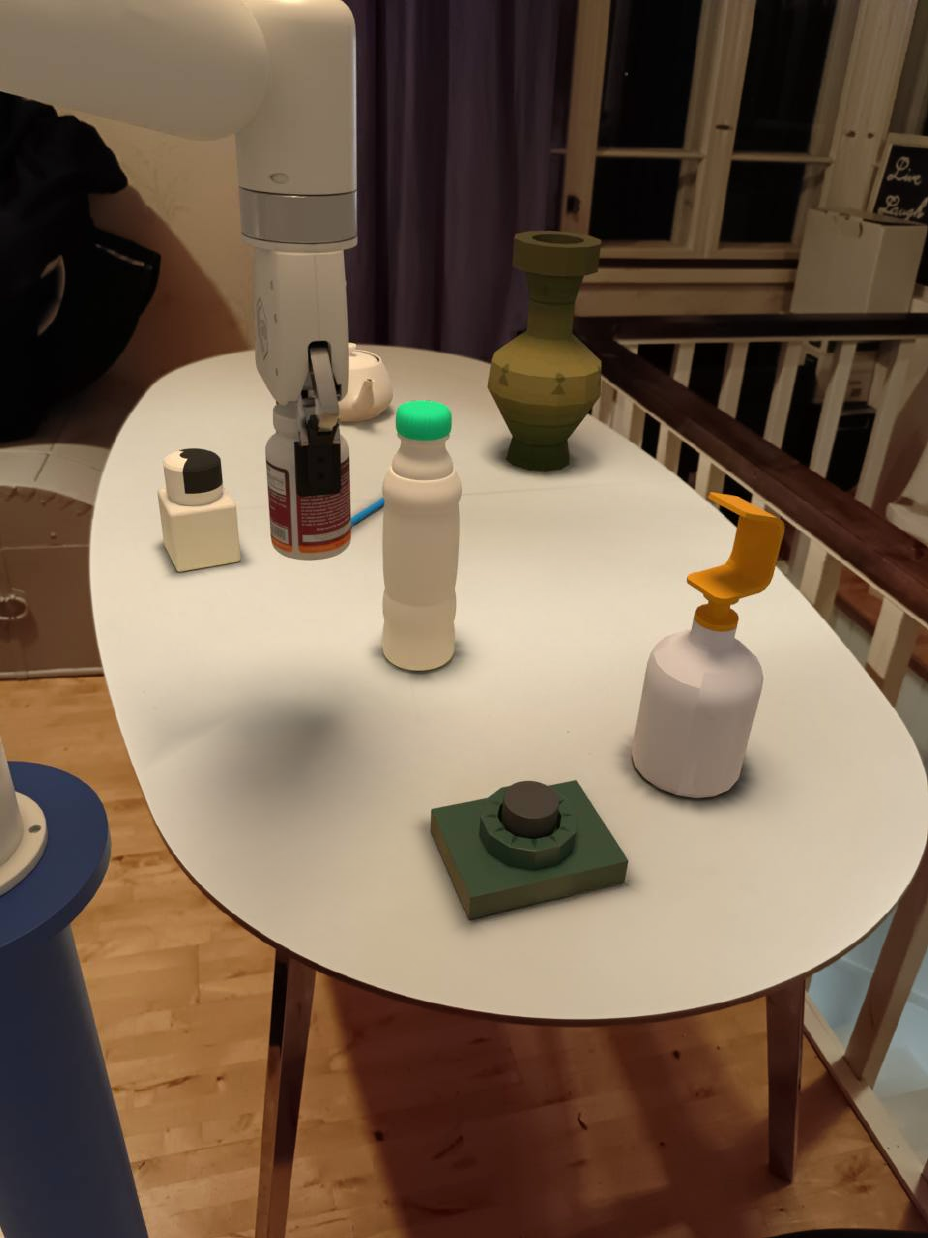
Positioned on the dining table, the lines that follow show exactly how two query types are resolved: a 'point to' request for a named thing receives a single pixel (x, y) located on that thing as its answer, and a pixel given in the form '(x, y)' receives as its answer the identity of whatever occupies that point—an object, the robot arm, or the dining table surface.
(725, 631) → the soap bottle
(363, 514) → the pen
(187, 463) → the medicine bottle
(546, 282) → the vase
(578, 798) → the green button base
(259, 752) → the dining table surface
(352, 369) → the teapot
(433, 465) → the water bottle
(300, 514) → the pill bottle
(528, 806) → the brown push button
